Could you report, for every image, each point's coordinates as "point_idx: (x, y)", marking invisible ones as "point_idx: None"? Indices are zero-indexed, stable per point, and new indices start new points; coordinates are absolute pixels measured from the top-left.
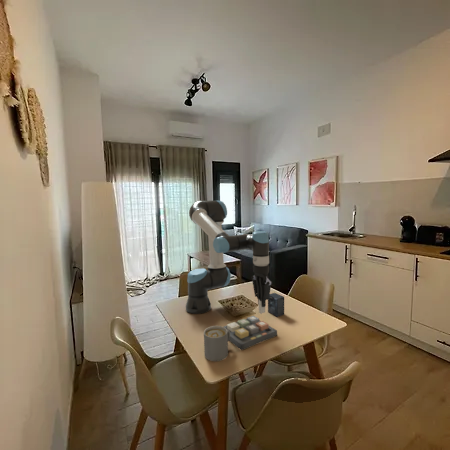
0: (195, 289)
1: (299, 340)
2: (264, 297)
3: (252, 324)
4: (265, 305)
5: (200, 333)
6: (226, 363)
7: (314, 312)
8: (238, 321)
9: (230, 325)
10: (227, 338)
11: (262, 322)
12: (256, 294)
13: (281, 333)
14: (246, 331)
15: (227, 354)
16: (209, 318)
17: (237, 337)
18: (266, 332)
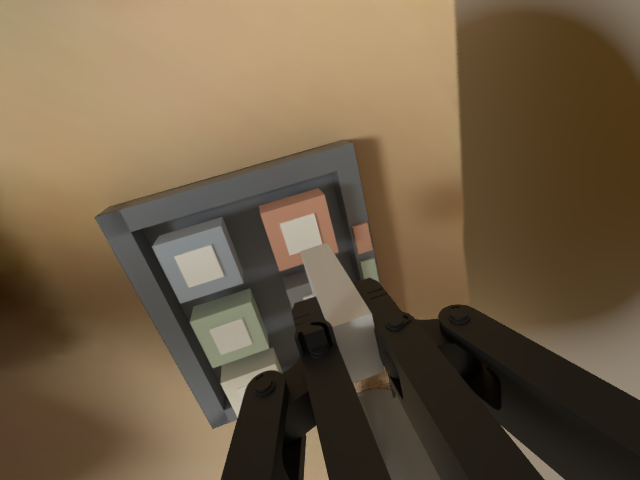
0: None
1: (440, 34)
2: (491, 391)
3: (289, 294)
4: (378, 283)
5: (195, 473)
6: None
7: None
8: (220, 361)
9: None
10: (421, 449)
11: (291, 227)
12: (303, 446)
13: (330, 97)
14: None
15: (396, 395)
16: (14, 444)
17: (296, 345)
18: (349, 217)
